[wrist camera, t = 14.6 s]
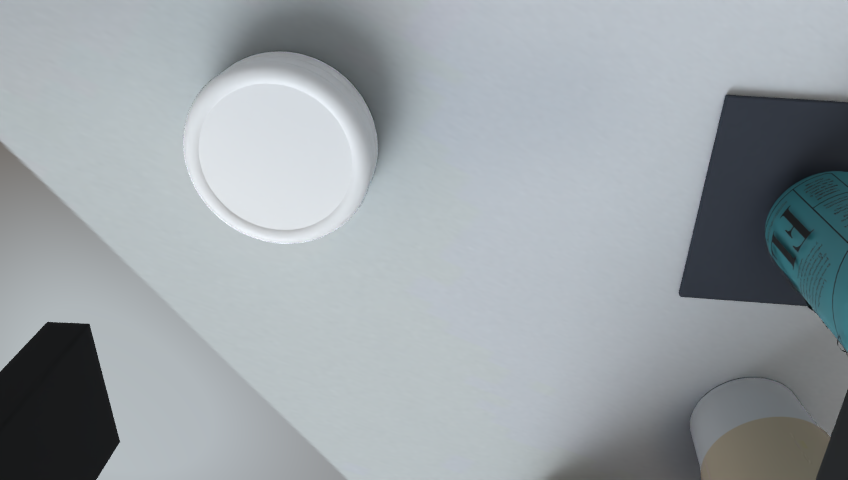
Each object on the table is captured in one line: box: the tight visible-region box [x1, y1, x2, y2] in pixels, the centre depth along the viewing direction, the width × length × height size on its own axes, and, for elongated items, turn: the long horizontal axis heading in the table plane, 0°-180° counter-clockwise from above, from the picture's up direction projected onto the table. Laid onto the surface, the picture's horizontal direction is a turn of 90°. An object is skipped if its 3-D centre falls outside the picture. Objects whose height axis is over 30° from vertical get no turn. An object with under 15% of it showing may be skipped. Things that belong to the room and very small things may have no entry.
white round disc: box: [183, 51, 378, 244], centre depth 38 cm, size 10×10×4 cm
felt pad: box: [679, 95, 848, 306], centre depth 39 cm, size 12×12×1 cm
